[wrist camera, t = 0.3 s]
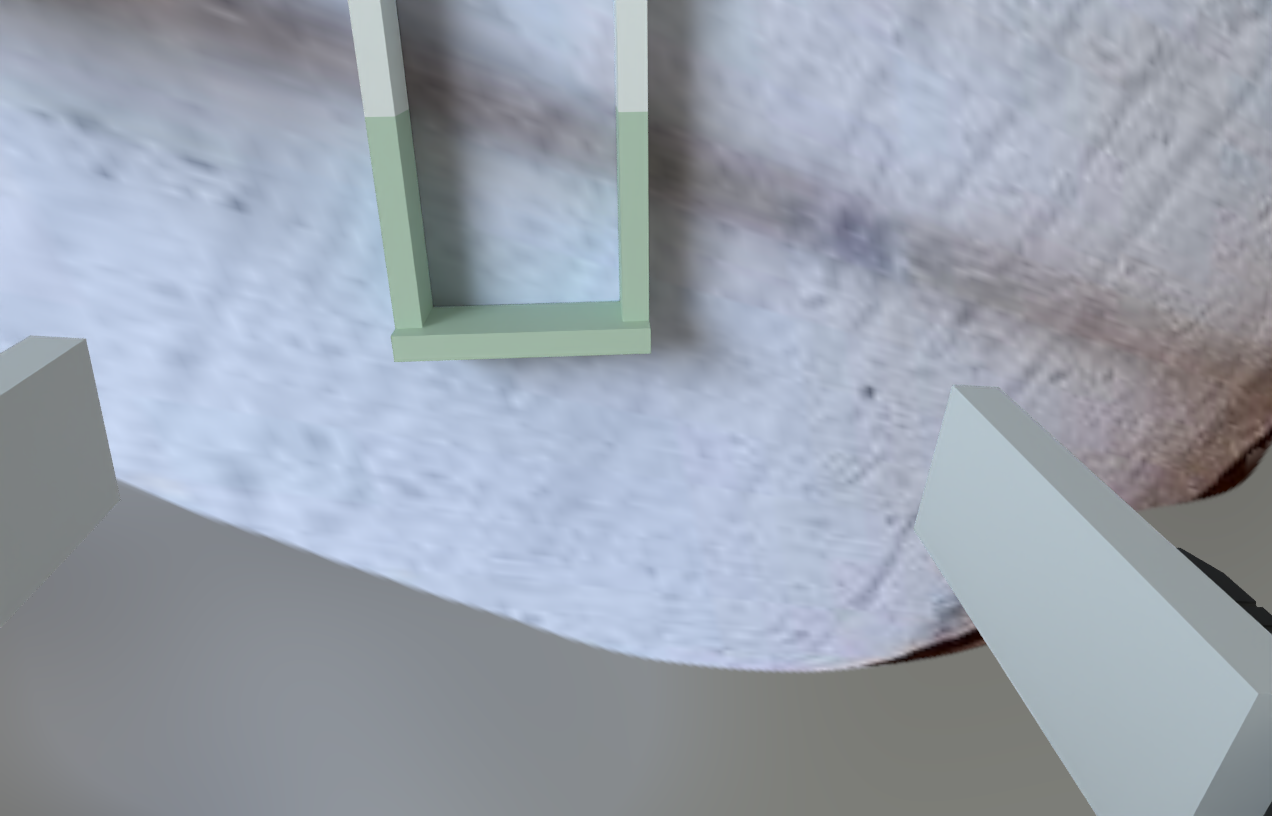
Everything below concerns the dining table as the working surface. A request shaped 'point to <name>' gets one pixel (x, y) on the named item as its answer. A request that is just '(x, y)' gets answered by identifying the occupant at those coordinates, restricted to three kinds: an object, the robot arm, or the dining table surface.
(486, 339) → the frame
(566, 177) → the dining table surface
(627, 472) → the dining table surface
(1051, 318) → the dining table surface
